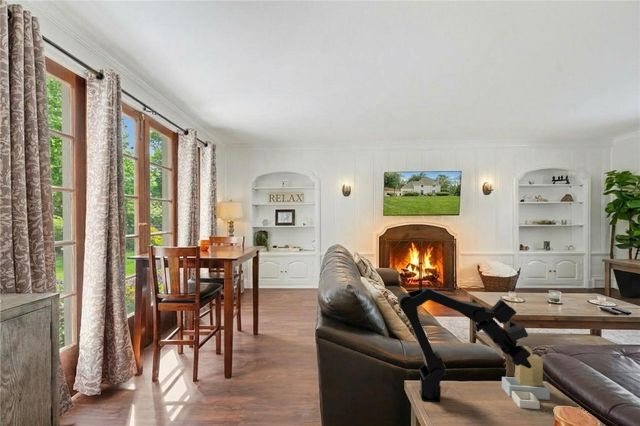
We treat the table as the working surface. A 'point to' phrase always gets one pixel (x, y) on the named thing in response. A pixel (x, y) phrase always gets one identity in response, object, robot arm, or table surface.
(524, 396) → the box
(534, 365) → the seated billet
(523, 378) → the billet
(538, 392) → the two-compartment pale blue organizer
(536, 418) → the table surface
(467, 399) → the table surface
